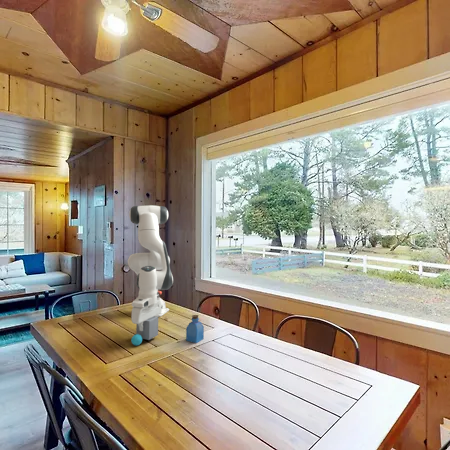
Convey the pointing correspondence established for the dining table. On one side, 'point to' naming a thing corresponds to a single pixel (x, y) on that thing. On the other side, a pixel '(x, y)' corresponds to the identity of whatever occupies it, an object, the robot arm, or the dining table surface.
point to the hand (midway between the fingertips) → (147, 327)
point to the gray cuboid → (148, 328)
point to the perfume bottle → (195, 330)
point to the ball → (136, 339)
